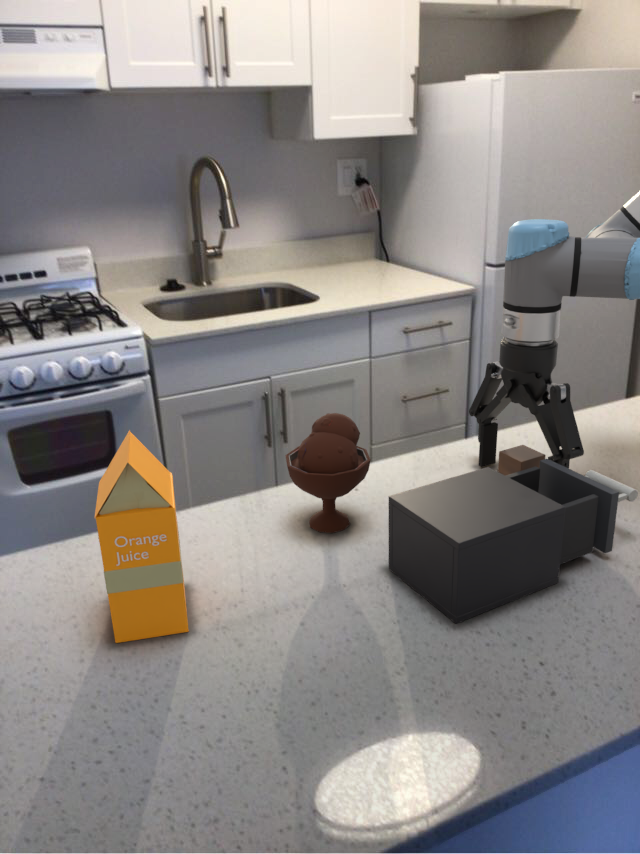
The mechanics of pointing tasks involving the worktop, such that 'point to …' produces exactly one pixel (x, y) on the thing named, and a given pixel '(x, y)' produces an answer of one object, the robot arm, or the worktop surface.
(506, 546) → the dark grey cuboid
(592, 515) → the dark grey drawer
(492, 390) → the robot arm
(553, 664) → the worktop surface
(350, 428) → the ice cream bowl
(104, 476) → the orange juice
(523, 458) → the block
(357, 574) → the worktop surface
